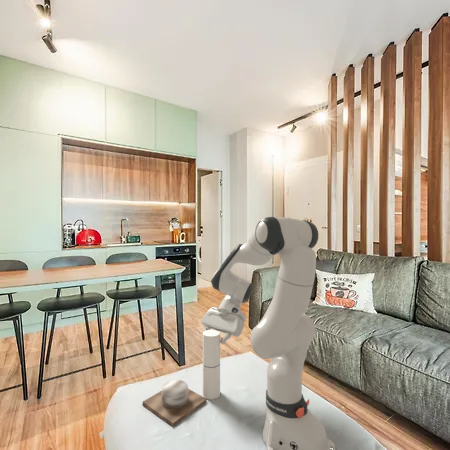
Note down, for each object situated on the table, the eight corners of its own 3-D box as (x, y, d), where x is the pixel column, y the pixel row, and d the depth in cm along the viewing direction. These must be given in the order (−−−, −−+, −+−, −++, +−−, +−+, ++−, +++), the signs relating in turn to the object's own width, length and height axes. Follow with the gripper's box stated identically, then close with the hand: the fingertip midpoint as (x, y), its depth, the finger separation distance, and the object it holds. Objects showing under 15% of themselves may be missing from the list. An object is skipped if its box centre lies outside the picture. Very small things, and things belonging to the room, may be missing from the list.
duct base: (206, 401, 106) (206, 385, 106) (172, 426, 93) (172, 408, 93) (176, 384, 117) (176, 370, 117) (142, 404, 104) (142, 388, 104)
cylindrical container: (212, 401, 106) (212, 337, 106) (199, 394, 110) (199, 333, 111) (223, 392, 112) (223, 332, 112) (210, 386, 116) (210, 328, 116)
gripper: (207, 302, 125) (192, 330, 117) (243, 311, 112) (228, 342, 104) (213, 310, 128) (199, 337, 121) (249, 319, 115) (235, 350, 108)
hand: (213, 340), depth 112 cm, fingers open, 8 cm apart
